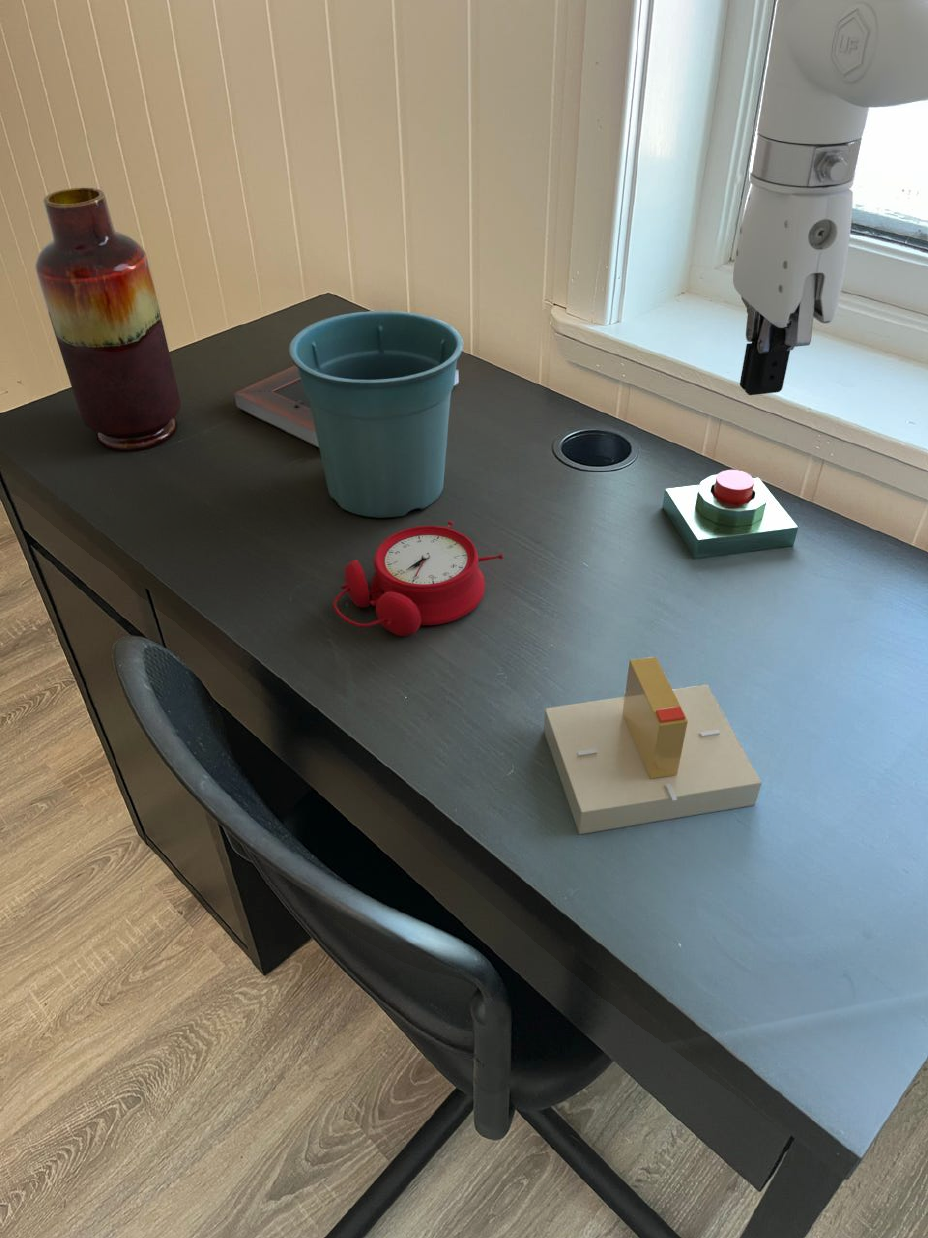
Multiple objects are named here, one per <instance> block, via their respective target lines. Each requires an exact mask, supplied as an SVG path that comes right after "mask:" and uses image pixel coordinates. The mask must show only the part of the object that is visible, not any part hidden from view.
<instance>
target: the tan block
mask: <svg viewBox="0 0 928 1238" xmlns="http://www.w3.org/2000/svg"><path fill="white" fill-rule="evenodd" d="M626 677H627V678H626V685H625V691H626V692H625V695H624V697H625V699H624V707H623V715H624V718H625V720H626V723H627V725H628V727H629V730H630V732H631V734H632V737H633V739H634V742H635V744H636V746H637V749H638V751H639V753H640V756H641V758H642V761H643V763H644V765H645V768H646V770H647V772H648V775H649V777H650V779H654V778H661V777H667V776H674V775H677V773H678V768H679V763H680V758H681V753H682V748H683V743H684V738H685V733H686V728H687V723H688V720H687V718H686V716H685V714H684V712H683V710H682V708H681V706H680V704H679V702H678V700H677V698H676V696H675V694H674V692H673V690H672V689H673V688H672V685H671V684H670V682H669V680H668V678H667V675H666V674H665V671H664V670H663V667H662V665H661V664H660V661H659V659H658V657H657V656H647V657H641V658H634V659H629V663H628V669H627V676H626Z"/></svg>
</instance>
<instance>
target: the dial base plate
mask: <svg viewBox="0 0 928 1238" xmlns="http://www.w3.org/2000/svg"><path fill="white" fill-rule="evenodd" d="M672 690H673V692H674V694H675V696H676V698H677V700H678V702H679V704H680V706H681V708H682V710H683V712H684V714H685V716H686V718H687V720H688V723H687V728H686V733H685V738H684V743H683V748H682V753H681V758H680V763H679V768H678V773H677V775H674V776H667V777H661V778H654V779H650V777H649V775H648V772H647V770H646V768H645V765H644V763H643V761H642V758H641V756H640V753H639V751H638V749H637V746H636V744H635V742H634V739H633V737H632V734H631V732H630V730H629V727H628V725H627V723H626V720H625V718H624V715H623V707H624V699H625V692H626V690H624V691H623V695H624V696H619V697H612V698H605V699H599V700H592V701H586V702H578V703H572V704H566V705H565V704H564V705H560V706H559V705H557V706H552V707H545V708H544V716H543V717H544V718H543V732H544V736H545V738H546V741H547V744H548V748H549V750H550V753H551V756H552V759H553V762H554V765H555V768H556V771H557V774H558V777H559V779H560V782H561V786H562V788H563V791H564V794H565V797H566V800H567V803H568V806H569V808H570V811H571V814H572V816H573V821H574V824H575V826H576V829H577V832H578V835H583V834H590V833H595V832H601V831H607V830H614V829H620V828H626V827H632V826H637V825H643V824H650V823H655V822H656V823H657V822H663V821H668V820H673V819H680V818H685V817H692V816H698V815H703V814H709V813H710V814H711V813H714V812H715V813H716V812H721V811H727V810H733V809H739V808H745V807H751V806H755V805H756V804H757V800H758V797H759V793H760V790H761V786H762V780H761V778H760V777H759V775H758V773H757V771H756V770H755V768H754V766H753V764H752V763H751V761H750V759H749V757H748V755H747V753H746V751H745V750H744V748H743V746H742V744H741V743H740V741H739V739H738V737H737V735H736V734H735V731H734V730H733V728H732V726H731V724H730V722H729V721H728V719H727V717H726V715H725V714H724V711H723V709H722V708H721V706H720V704H719V702H718V701H717V699H716V697H715V695H714V694H713V691H712V690H711V688H710V686H709V685H708V684H699V685H692V686H686V687H680V688H674V689H673V688H672Z"/></svg>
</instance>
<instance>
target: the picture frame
mask: <svg viewBox="0 0 928 1238" xmlns="http://www.w3.org/2000/svg"><path fill="white" fill-rule="evenodd" d="M459 376H460V375H459V369H458V368H456V374H455V383H454V387H455V386H457V385H458V384H459V383H460V378H459ZM233 395H234V399H235V406H236V408H238V409H239V410H240V411H243V412H244V413H246V414H249V415H251V416H253V417H255V418H257V419H259V420H261V421H263V422H265V423H267V424H269V425H272V426H273V427H276V428H277V429H280V430H281V431H284V432H285V433H287V434H289V435H291V436H293V437H295V438H297V439H300V440H302V441H303V442H306V443H308V444H310V445H312V446H315V447H317V448H319V444H318V439H317V435H316V430H315V426H314V421H313V416H312V412H311V407H310V403H309V399H308V398H307V396H306V395H305V393H304V390H303V387H302V382H301V378H300V374H299V370H298V367H297V366H296V365H295V364H294V365H293V366H291V367H288V368H286V369H284V370H282V371H280V372H277V373H275V374H273V375H271V376H268V377H266V378H263V379H262V380H259V381H258V382H255V383H253V384H250V385H248V386H246V387H244V388H242V389H239V390H238V391H235V392H234V393H233Z"/></svg>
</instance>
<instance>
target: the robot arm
mask: <svg viewBox="0 0 928 1238" xmlns="http://www.w3.org/2000/svg"><path fill="white" fill-rule="evenodd" d="M773 15H774V16H773V21H772V28H771V35H770V41H769V47H768V53H767V59H766V66H765V67H766V68H765V71H764V72H765V73H764V77H763V85H762V91H761V98H760V103H759V111H758V117H757V124H756V127H755V128H756V129H755V130H756V131H755V136H754V142H753V148H752V155H751V161H750V165H749V166H750V167H749V174H748V181H749V183H750V185H749V190H748V193H747V197H746V202H745V206H744V210H743V215H742V219H741V224H740V228H739V234H738V238H737V244H736V249H735V256H734V264H733V272H732V284H733V287H734V289H735V291H736V292H737V293H738V294H739V296H740V299H741V301H742V303H743V304H744V306H745V308H746V313H747V316H746V327H745V339H746V342H748V343H746V346H745V351H744V358H743V362H742V369H741V374H740V381H739V386H740V388H742V389H743V390H744V392H745V393H746V394H747V395H748V396H757V395H764V394H775V393H779V392H781V391H782V390H783V388H784V383H785V377H786V373H787V368H788V363H789V358H790V352H791V351H793V350H794V349H795V348H797V347H806V346H807V347H808V346H810V345H811V342H812V336H813V325H814V324H813V323H814V319H815V320H816V321H818V322H819V323H821V324H830V323H832V322H833V321H834V319H835V317H836V314H837V311H838V307H839V303H840V299H841V298H840V297H841V292H842V288H843V282H844V277H845V270H846V265H847V261H848V253H849V247H850V239H851V230H852V220H853V201H854V200H853V193H854V192H853V191H852V190H851V188H852V187H853V185H854V180H855V176H856V172H857V167H858V163H859V158H860V155H861V150H862V146H863V141H864V135H865V132H866V127H867V124H868V119H869V115H870V111H871V109H883V108H884V109H885V108H891V107H897V106H898V107H899V106H904V105H910V104H918V103H922V102H925V101H928V0H776V3H775V9H774V14H773Z"/></svg>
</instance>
